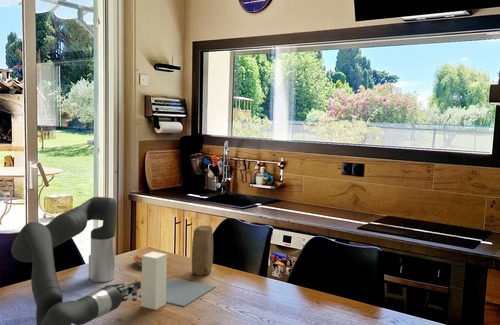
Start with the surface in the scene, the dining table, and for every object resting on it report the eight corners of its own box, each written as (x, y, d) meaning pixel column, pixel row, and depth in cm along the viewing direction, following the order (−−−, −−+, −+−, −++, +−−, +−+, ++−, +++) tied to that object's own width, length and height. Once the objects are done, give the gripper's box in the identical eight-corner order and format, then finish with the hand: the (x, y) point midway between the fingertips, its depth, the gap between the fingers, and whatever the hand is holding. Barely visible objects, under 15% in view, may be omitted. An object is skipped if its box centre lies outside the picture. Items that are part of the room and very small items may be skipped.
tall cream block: (141, 306, 159) (142, 255, 157) (152, 300, 164) (153, 251, 162) (155, 309, 156) (156, 258, 154) (165, 303, 161) (166, 254, 160)
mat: (138, 295, 168) (138, 294, 168) (173, 278, 188) (173, 277, 188) (184, 306, 159) (184, 305, 159) (215, 287, 179) (215, 286, 179)
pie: (175, 265, 205) (175, 254, 205) (146, 272, 194) (146, 261, 193) (155, 257, 216) (155, 247, 215) (126, 264, 204) (126, 253, 204)
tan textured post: (206, 277, 191) (208, 230, 189) (189, 275, 192) (190, 228, 191) (214, 269, 201) (215, 224, 199) (198, 267, 203) (199, 223, 201)
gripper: (118, 294, 133) (155, 277, 149) (84, 285, 139) (123, 270, 154) (118, 319, 134) (154, 299, 149) (84, 309, 139) (123, 291, 155)
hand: (138, 284), depth 152 cm, fingers closed
